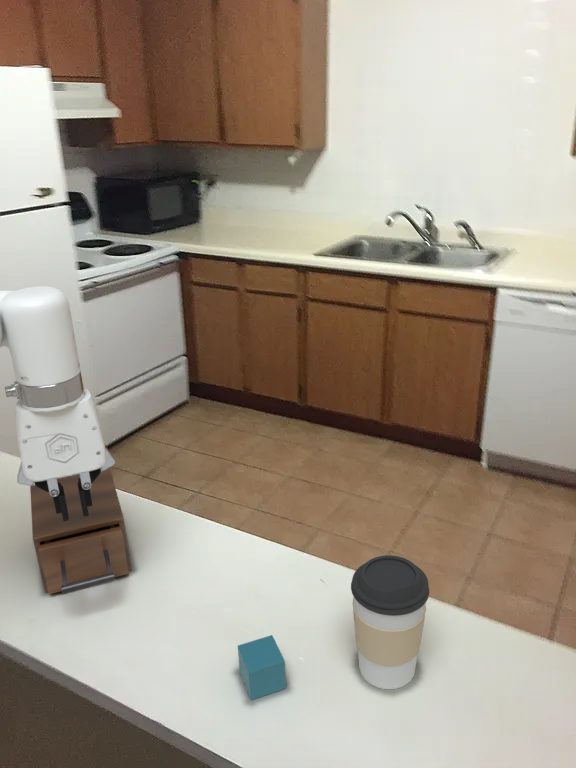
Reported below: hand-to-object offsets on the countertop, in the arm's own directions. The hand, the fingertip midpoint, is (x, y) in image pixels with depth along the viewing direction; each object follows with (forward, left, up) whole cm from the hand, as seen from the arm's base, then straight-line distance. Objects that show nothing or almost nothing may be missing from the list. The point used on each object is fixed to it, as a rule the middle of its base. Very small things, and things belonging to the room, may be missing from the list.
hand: (75, 512), depth 90 cm
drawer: (0, +7, -14) cm, 16 cm away
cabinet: (0, +12, -15) cm, 19 cm away
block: (+18, -23, -15) cm, 33 cm away
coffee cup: (+33, -27, -15) cm, 45 cm away
